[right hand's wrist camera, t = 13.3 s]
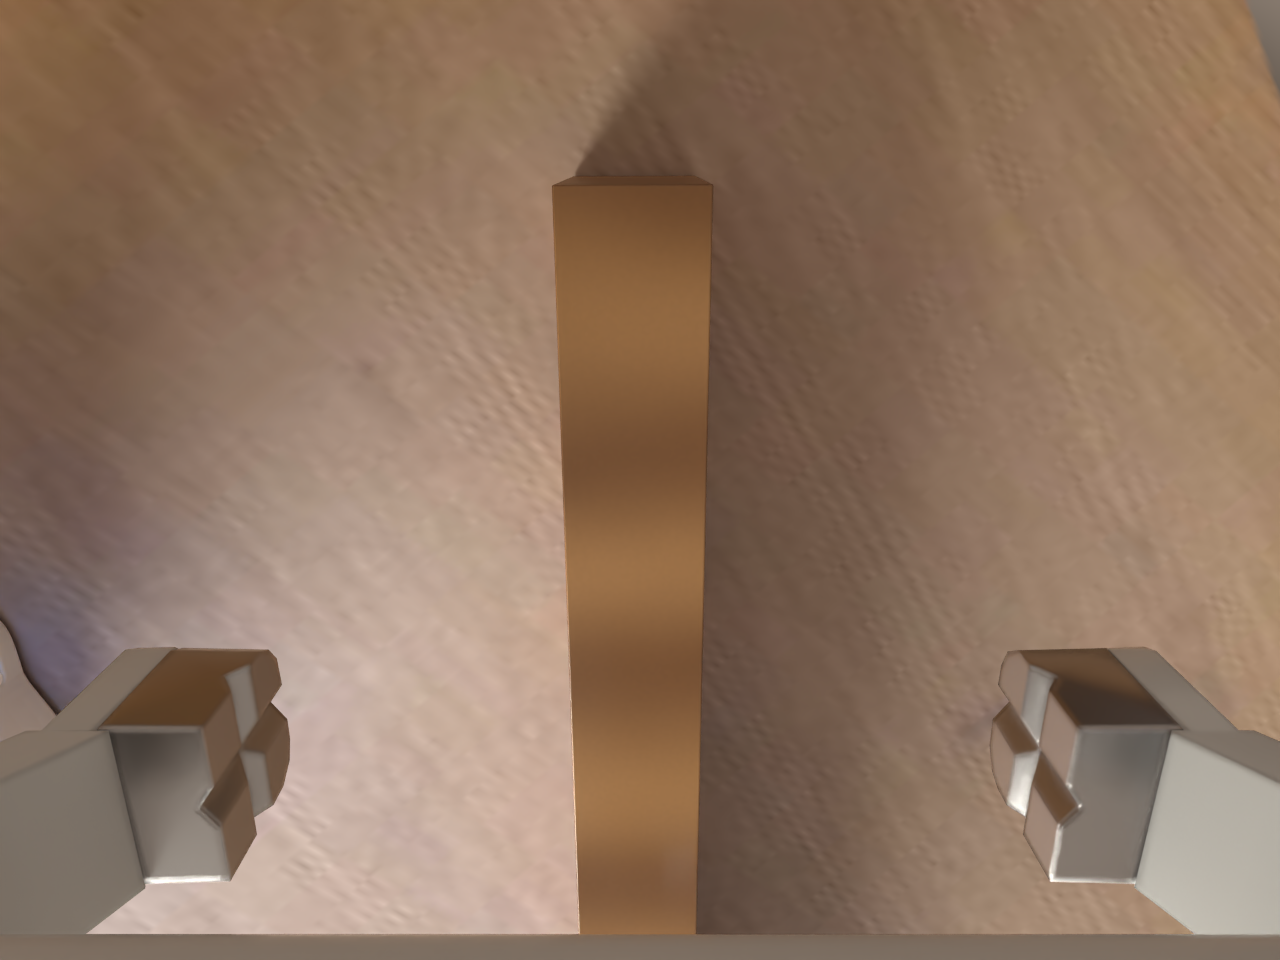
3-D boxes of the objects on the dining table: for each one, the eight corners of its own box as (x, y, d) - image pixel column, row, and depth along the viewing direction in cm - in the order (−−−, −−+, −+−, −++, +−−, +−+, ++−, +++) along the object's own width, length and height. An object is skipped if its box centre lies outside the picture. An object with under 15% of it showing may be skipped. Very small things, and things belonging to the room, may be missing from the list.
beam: (572, 176, 35) (551, 184, 27) (696, 175, 35) (713, 184, 27) (599, 1130, 54) (591, 1309, 45) (680, 1129, 54) (687, 1308, 45)
